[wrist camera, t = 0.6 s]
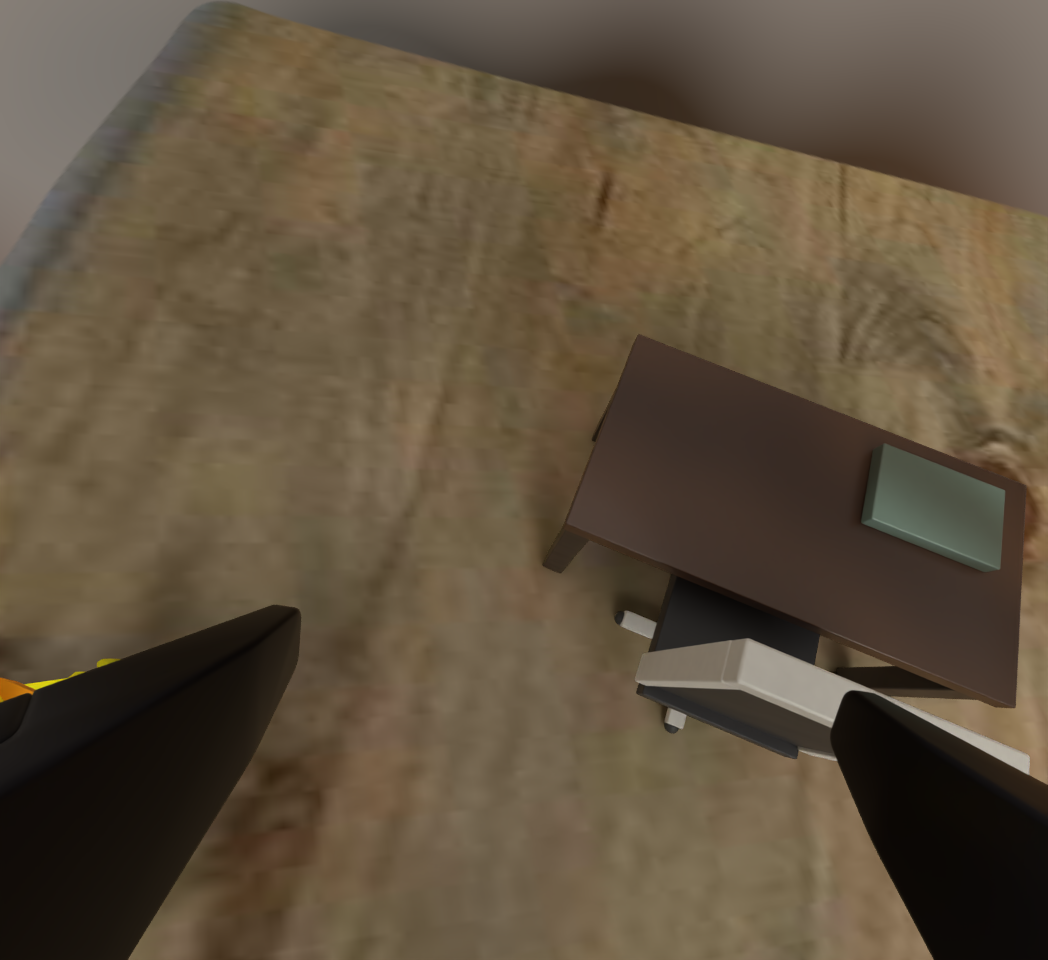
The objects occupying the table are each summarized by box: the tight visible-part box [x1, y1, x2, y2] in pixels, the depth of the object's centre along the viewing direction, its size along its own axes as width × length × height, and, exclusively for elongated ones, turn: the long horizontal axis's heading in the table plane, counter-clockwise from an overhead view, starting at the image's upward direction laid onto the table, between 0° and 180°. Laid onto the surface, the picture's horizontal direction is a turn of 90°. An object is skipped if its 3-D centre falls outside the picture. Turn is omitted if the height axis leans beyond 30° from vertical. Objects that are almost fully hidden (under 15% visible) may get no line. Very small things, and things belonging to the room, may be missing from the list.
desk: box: [543, 334, 1026, 708], centre depth 22 cm, size 8×15×8 cm, turn 68°
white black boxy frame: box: [615, 574, 1030, 775], centre depth 18 cm, size 7×7×12 cm
